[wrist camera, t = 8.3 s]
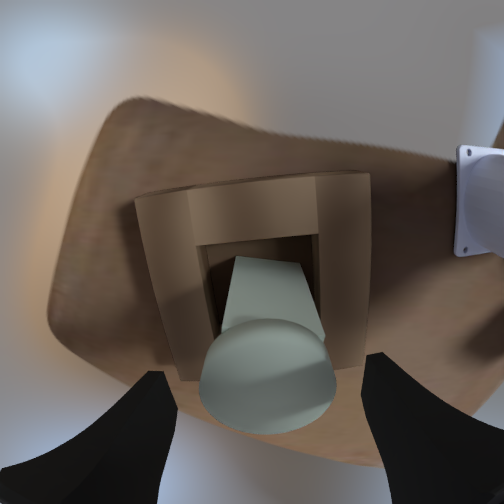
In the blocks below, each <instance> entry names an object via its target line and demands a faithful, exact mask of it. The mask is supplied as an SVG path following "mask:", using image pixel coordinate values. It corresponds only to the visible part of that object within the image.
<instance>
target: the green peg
mask: <svg viewBox="0 0 504 504" xmlns="http://www.w3.org/2000/svg"><path fill="white" fill-rule="evenodd" d="M324 339H325V333H324V330H323V327H322V324H321V322H320V319H319V316H318V313H317V310H316V307H315V304H314V301H313V298H312V296H311V293H310V290H309V287H308V284H307V281H306V279H305V276H304V273H303V270H302V267H301V265H300V263H295V262H286V261H277V260H269V259H260V258H251V257H243V256H236V259H235V264H234V269H233V274H232V279H231V284H230V289H229V294H228V299H227V304H226V309H225V314H224V319H223V324H222V332H221V335H219V336H218V337H217V338H216V339H215V340H214V342H213V343H212V344H211V346H210V347H209V349H208V351H207V354H206V357H205V361H204V366H203V370H202V374H201V378H200V383H199V395H200V398H201V401H202V403H203V405H204V407H205V408H206V410H207V411H208V412H209V413H210V414H211V415H212V416H213V417H214V418H215V419H216V420H218V421H219V422H221V423H222V424H224V425H226V426H228V427H230V428H233V429H236V430H239V431H242V432H247V433H253V434H278V433H284V432H289V431H292V430H295V429H298V428H301V427H303V426H305V425H307V424H309V423H311V422H313V421H314V420H316V419H317V418H318V417H319V416H321V415H322V414H323V413H324V412H325V411H326V410H327V409H328V407H329V406H330V404H331V403H332V401H333V399H334V396H335V393H336V378H335V374H334V371H333V367H332V364H331V361H330V358H329V355H328V351H327V349H326V347H325V345H324V343H323V342H324Z"/></svg>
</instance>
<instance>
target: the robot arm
mask: <svg viewBox="0 0 504 504" xmlns="http://www.w3.org/2000/svg"><path fill="white" fill-rule="evenodd" d="M467 150H468V152H469V153H468V155H467ZM456 155H457V156H456V157H457V211H456V229H455V241H454V254H455V255H456V256H458V257H463V256H470V255H476V254H483V253H489V252H493V253H495V254H496V255H498V256H500V257H502V258H503V259H504V149H496V148H488V147H480V146H469V145H459V146H458V147H457V149H456ZM464 248H465V250H464ZM463 250H464V251H463ZM361 398H362V402H363V407H364V411H365V415H366V418H367V421H368V424H369V426H370V429H371V432H372V434H373V437H374V440H375V442H376V445H377V448H378V450H379V453H380V456H381V458H382V461H383V464H384V467H385V470H386V474H387V478H388V483H389V488H390V492H391V499H392V504H504V430H503V429H499V428H496V427H493V426H491V425H488V424H486V423H484V422H481V421H479V420H477V419H475V418H472V417H471V416H468V415H467V414H465V413H463V412H461V411H459V410H458V409H456V408H454V407H452V406H451V405H449V404H447V403H446V402H444V401H443V400H441V399H440V398H438V397H437V396H436V395H434V394H433V393H431V392H430V391H429V390H427V389H426V388H425V387H423V386H422V385H421V384H420V383H418V382H417V381H416V380H415V379H413V378H412V377H411V376H410V375H408V374H407V373H406V372H405V371H404V370H403V369H401V368H400V367H399V366H398V365H397V364H396V363H395V362H393V361H392V360H391V359H390V358H389V357H388V356H386V355H385V354H384V353H383V352H380V353H375V354H370V355H367V356H366V363H365V370H364V377H363V384H362V390H361ZM177 411H178V407H177V405H176V403H175V400H174V398H173V395H172V393H171V390H170V387H169V385H168V382H167V380H166V377H165V374H164V371H148V372H147V373H146V374H145V375H144V376H143V377H142V378H141V379H140V380H139V381H138V382H137V383H136V384H135V385H134V386H133V387H132V388H131V389H130V390H129V391H128V392H127V393H126V394H125V395H124V396H123V397H122V398H121V399H120V400H118V402H116V404H114V406H112V407H111V408H110V409H109V410H108V411H107V412H105V413H104V414H103V415H102V416H101V417H100V418H99V419H97V420H96V421H95V422H94V423H93V424H92V425H90V426H89V427H88V428H86V429H85V430H84V431H82V432H81V433H79V434H78V435H76V436H75V437H74V438H72V439H70V440H69V441H67V442H66V443H64V444H62V445H60V446H58V447H57V448H55V449H53V450H51V451H49V452H47V453H45V454H43V455H41V456H39V457H36V458H34V459H31V460H28V461H26V462H23V463H19V464H16V465H12V466H9V467H5V468H2V469H1V471H0V503H2V504H157V500H158V493H159V486H160V482H161V477H162V474H163V470H164V467H165V463H166V460H167V456H168V453H169V449H170V445H171V442H172V439H173V435H174V432H175V426H176V419H177Z"/></svg>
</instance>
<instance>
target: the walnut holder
mask: <svg viewBox="0 0 504 504" xmlns="http://www.w3.org/2000/svg"><path fill="white" fill-rule="evenodd" d="M134 201H135V206H136V212H137V217H138V222H139V228H140V233H141V237H142V242H143V247H144V252H145V256H146V260H147V265H148V269H149V273H150V277H151V281H152V286H153V289H154V293H155V297H156V301H157V305H158V308H159V312H160V316H161V319H162V323H163V326H164V330H165V333H166V336H167V340H168V343H169V346H170V349H171V353H172V356H173V359H174V362H175V365H176V368H177V371H178V374H179V377H180V380H181V381H200V378H201V374H202V370H203V366H204V361H205V357H206V354H207V351H208V349H209V347H210V346H211V344H212V343H213V342H214V340H215V339H216V338H217V337H218V336H219V335H221V332H222V325H220V324H219V318H218V313H217V308H216V303H215V297H214V292H213V286H212V280H211V275H210V269H209V263H208V257H207V251H206V245H209V244H219V243H228V242H238V241H248V240H258V239H268V238H278V237H288V236H298V235H309V234H311V239H312V259H313V286H314V304H315V307H316V310H317V313H318V316H319V319H320V322H321V324H322V327H323V330H324V333H325V339H324V342H323V343H324V345H325V347H326V349H327V351H328V355H329V358H330V361H331V364H332V367H333V370H338V369H345V368H351V367H356V366H362V365H363V359H364V350H365V342H366V332H367V321H368V309H369V294H370V275H371V185H370V173H366V172H362V171H357V170H348V171H330V172H314V173H301V174H289V175H277V176H267V177H257V178H248V179H239V180H230V181H222V182H215V183H207V184H200V185H193V186H186V187H179V188H173V189H167V190H160V191H154V192H149V193H147V194H144V195H142V196H139V197H137V198H135V199H134Z"/></svg>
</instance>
